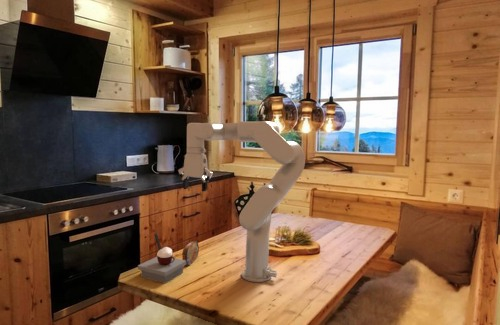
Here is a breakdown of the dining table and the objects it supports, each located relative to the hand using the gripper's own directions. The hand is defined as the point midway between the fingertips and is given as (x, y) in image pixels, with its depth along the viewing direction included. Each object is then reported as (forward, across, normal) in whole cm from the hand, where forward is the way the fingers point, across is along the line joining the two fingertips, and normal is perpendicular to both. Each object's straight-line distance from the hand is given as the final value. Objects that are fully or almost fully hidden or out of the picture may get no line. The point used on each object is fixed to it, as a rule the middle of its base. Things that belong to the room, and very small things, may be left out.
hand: (195, 189), depth 160 cm
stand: (+34, +5, +16) cm, 38 cm away
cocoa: (+29, +4, +15) cm, 33 cm away
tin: (+34, +4, -2) cm, 35 cm away
